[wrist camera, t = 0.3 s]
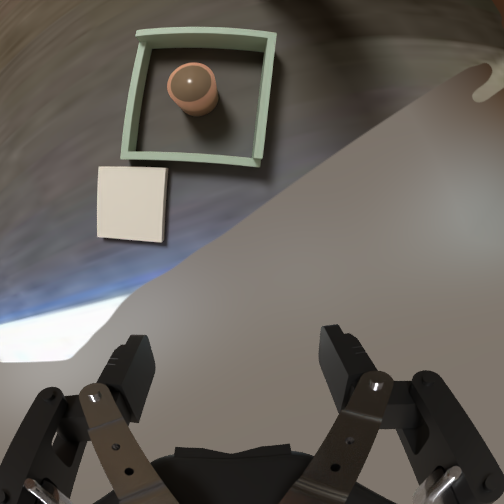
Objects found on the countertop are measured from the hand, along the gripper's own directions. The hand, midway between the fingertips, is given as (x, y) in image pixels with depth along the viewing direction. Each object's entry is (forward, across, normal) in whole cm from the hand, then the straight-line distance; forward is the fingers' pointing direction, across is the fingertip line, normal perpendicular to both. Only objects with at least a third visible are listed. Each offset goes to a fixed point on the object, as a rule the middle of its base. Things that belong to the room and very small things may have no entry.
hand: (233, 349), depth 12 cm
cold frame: (+28, +4, -18) cm, 33 cm away
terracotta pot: (+28, +4, -18) cm, 33 cm away
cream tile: (+28, +14, -4) cm, 31 cm away
